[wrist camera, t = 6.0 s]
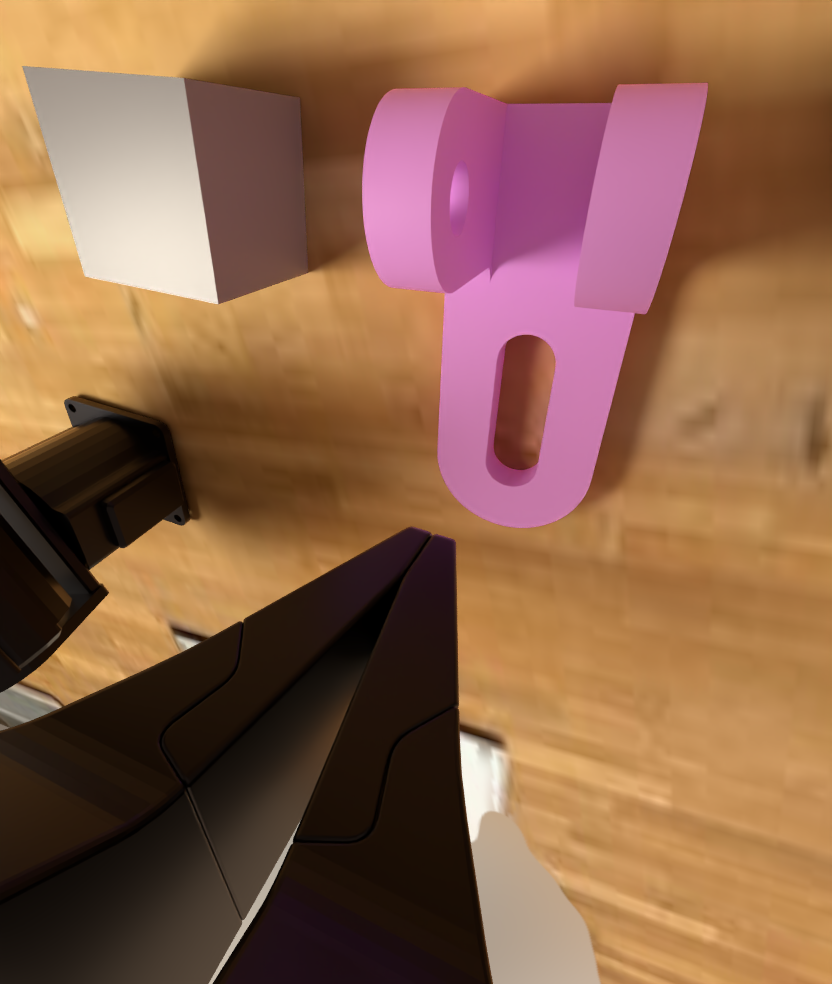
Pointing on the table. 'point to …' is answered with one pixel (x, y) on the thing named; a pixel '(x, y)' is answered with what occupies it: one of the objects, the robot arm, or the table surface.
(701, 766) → the table surface
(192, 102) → the grey cube
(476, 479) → the bracket
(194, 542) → the table surface
